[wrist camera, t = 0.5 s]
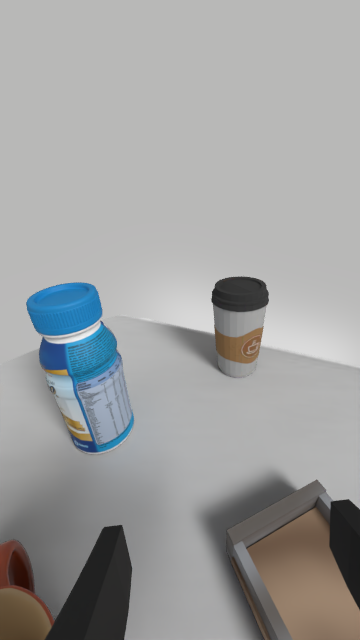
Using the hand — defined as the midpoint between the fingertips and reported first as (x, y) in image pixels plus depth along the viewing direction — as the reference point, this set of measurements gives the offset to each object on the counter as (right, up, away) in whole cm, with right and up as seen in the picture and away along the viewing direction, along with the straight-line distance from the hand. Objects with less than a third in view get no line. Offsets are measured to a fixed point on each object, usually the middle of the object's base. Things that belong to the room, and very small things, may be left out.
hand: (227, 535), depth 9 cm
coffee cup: (+8, -1, +36) cm, 37 cm away
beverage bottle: (-12, -8, +26) cm, 30 cm away
